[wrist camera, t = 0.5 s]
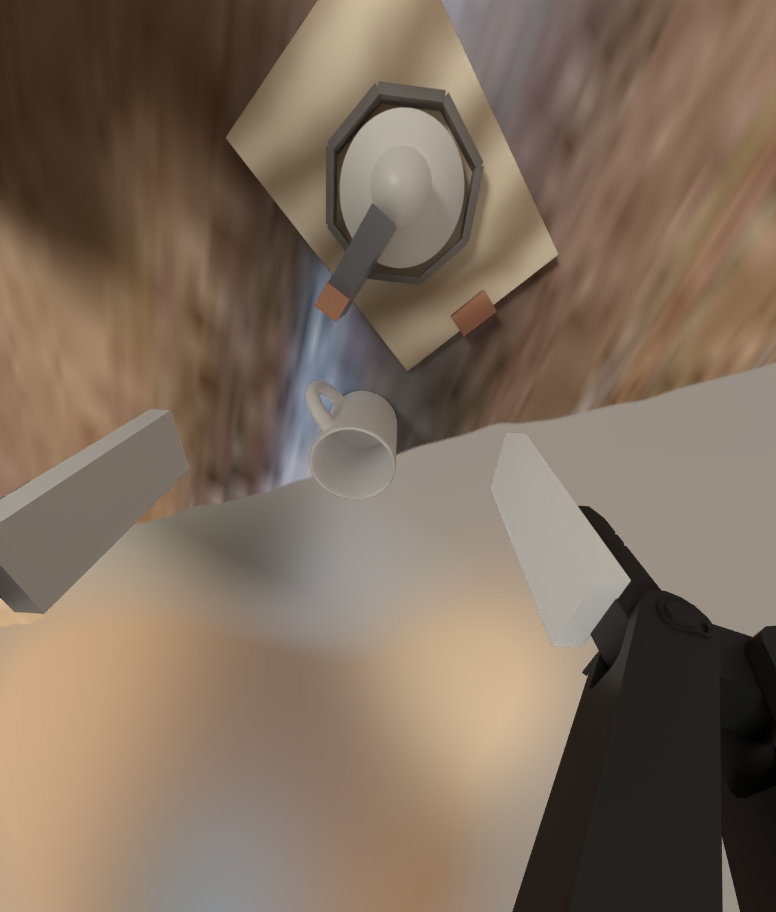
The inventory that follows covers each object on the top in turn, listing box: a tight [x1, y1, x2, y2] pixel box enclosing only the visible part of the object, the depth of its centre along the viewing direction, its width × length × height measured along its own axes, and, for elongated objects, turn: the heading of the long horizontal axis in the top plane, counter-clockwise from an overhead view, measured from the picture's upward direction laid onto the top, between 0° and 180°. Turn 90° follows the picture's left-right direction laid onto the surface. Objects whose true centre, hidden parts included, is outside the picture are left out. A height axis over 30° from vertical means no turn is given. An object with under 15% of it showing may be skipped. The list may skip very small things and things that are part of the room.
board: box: [226, 0, 558, 371], centre depth 27 cm, size 24×17×3 cm
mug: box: [305, 380, 397, 500], centre depth 34 cm, size 12×8×10 cm
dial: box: [315, 107, 464, 322], centre depth 25 cm, size 15×10×7 cm, turn 144°
